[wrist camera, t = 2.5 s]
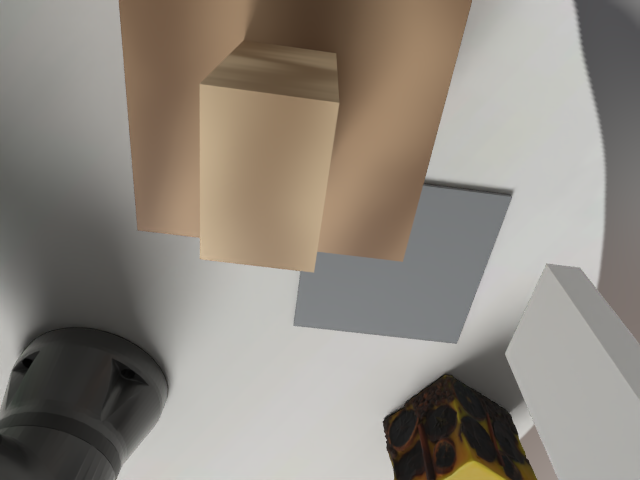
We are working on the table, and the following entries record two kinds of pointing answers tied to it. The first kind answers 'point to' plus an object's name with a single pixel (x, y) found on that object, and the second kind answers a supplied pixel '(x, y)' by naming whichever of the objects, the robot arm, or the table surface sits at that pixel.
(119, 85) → the table surface
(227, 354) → the table surface
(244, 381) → the table surface
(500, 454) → the candle
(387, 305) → the mat
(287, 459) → the table surface
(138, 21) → the wooden side table
